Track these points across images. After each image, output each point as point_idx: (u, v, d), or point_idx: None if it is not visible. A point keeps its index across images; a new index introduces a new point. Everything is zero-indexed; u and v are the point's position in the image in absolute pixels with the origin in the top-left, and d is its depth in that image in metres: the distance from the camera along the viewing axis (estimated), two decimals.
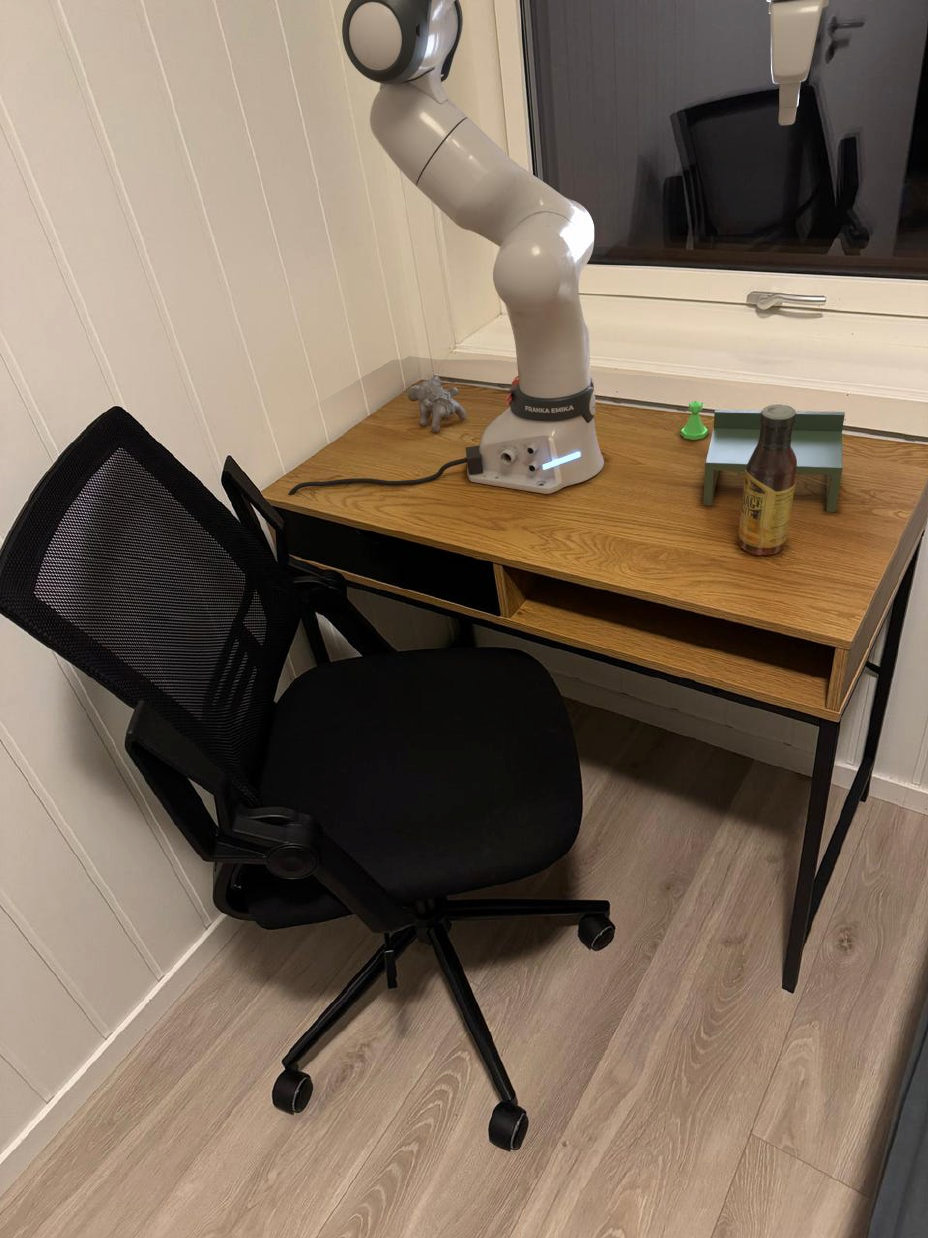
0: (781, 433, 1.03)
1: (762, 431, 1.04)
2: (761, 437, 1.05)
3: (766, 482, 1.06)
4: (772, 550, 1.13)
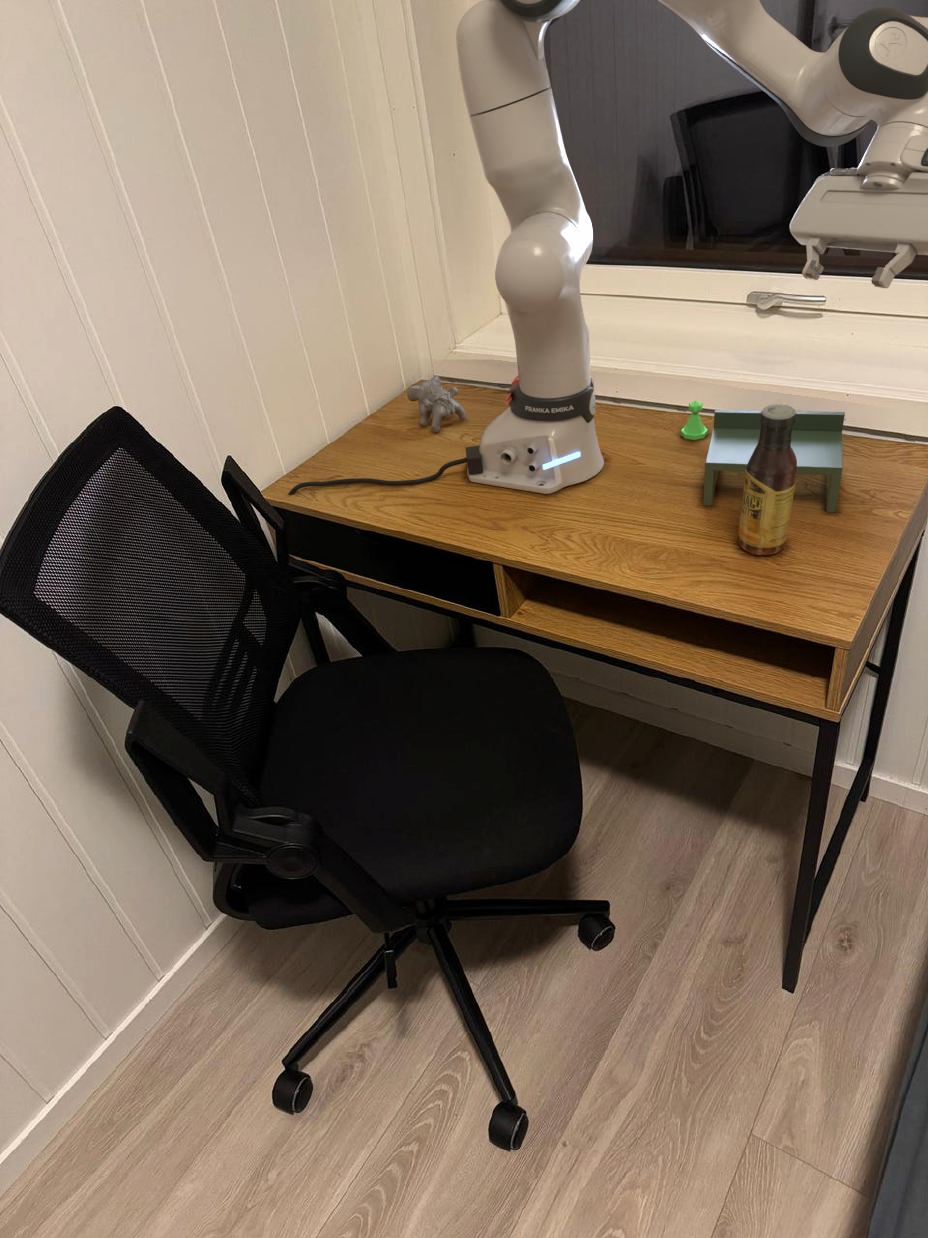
0: (781, 434, 1.03)
1: (762, 431, 1.04)
2: (761, 437, 1.05)
3: (766, 482, 1.06)
4: (772, 550, 1.13)
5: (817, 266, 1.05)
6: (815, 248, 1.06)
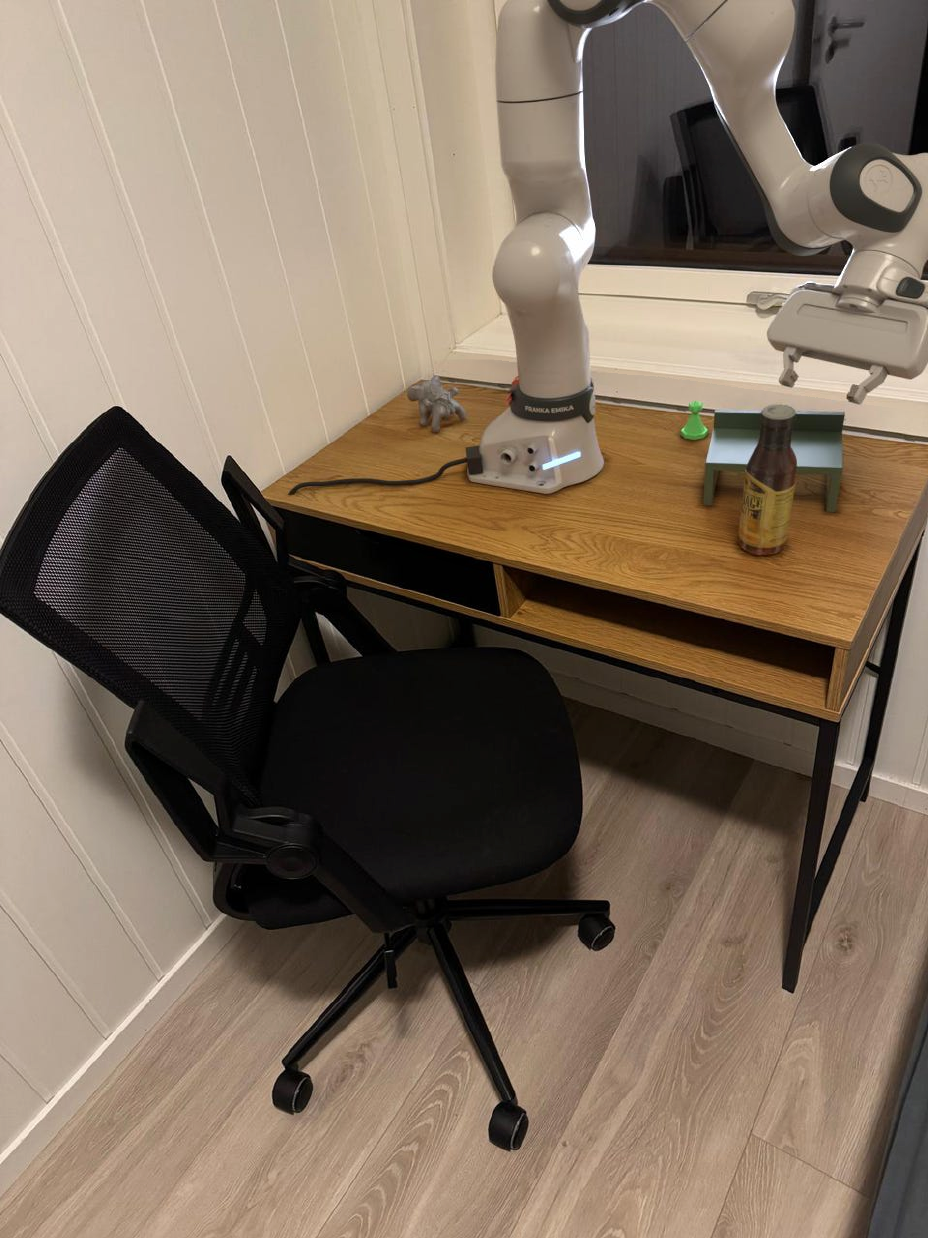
0: (781, 434, 1.03)
1: (762, 431, 1.04)
2: (761, 437, 1.05)
3: (766, 482, 1.06)
4: (772, 550, 1.13)
5: (793, 375, 1.10)
6: (791, 357, 1.11)
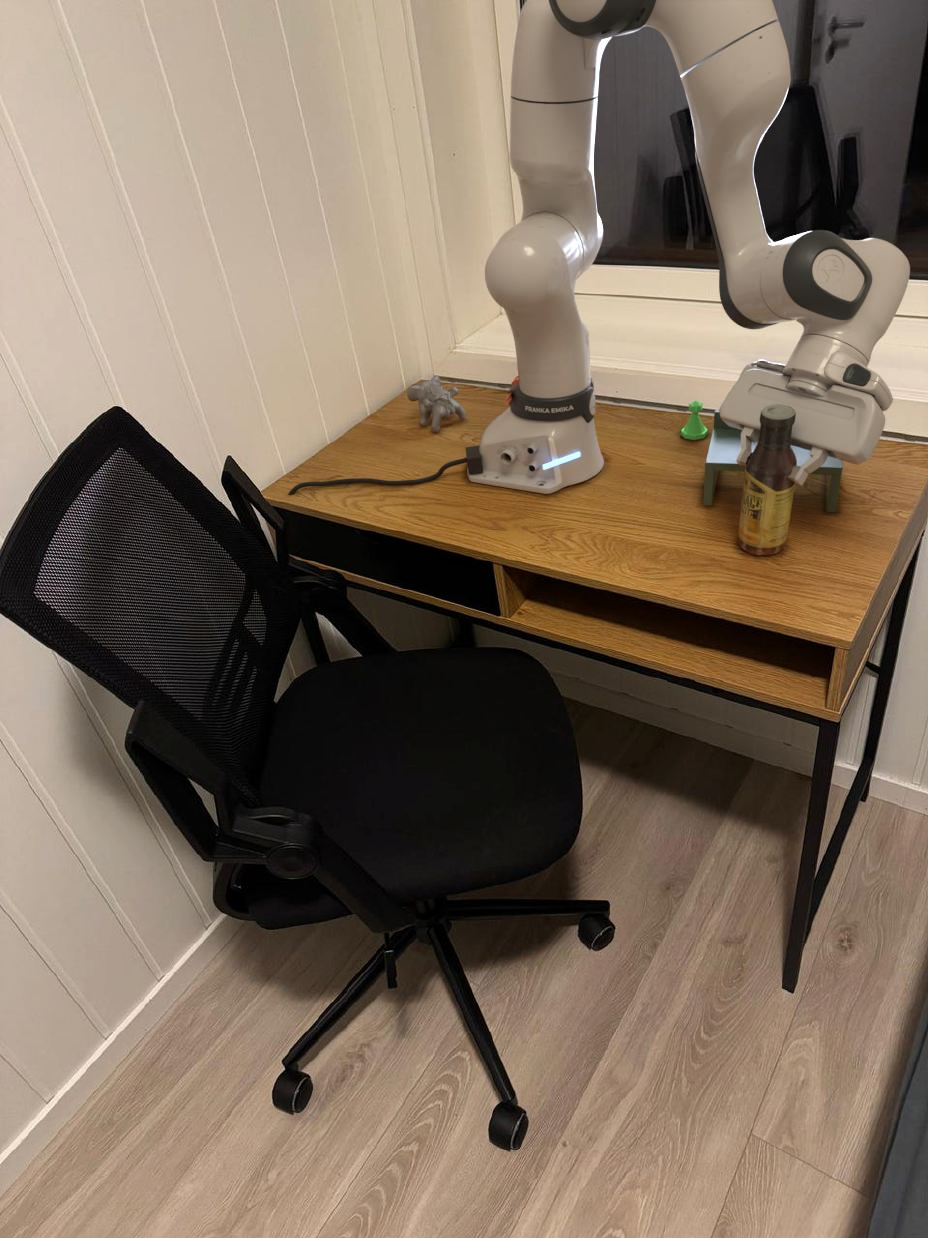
0: (781, 434, 1.03)
1: (762, 431, 1.04)
2: (761, 437, 1.05)
3: (766, 482, 1.06)
4: (772, 550, 1.13)
5: (750, 456, 1.10)
6: (749, 438, 1.11)
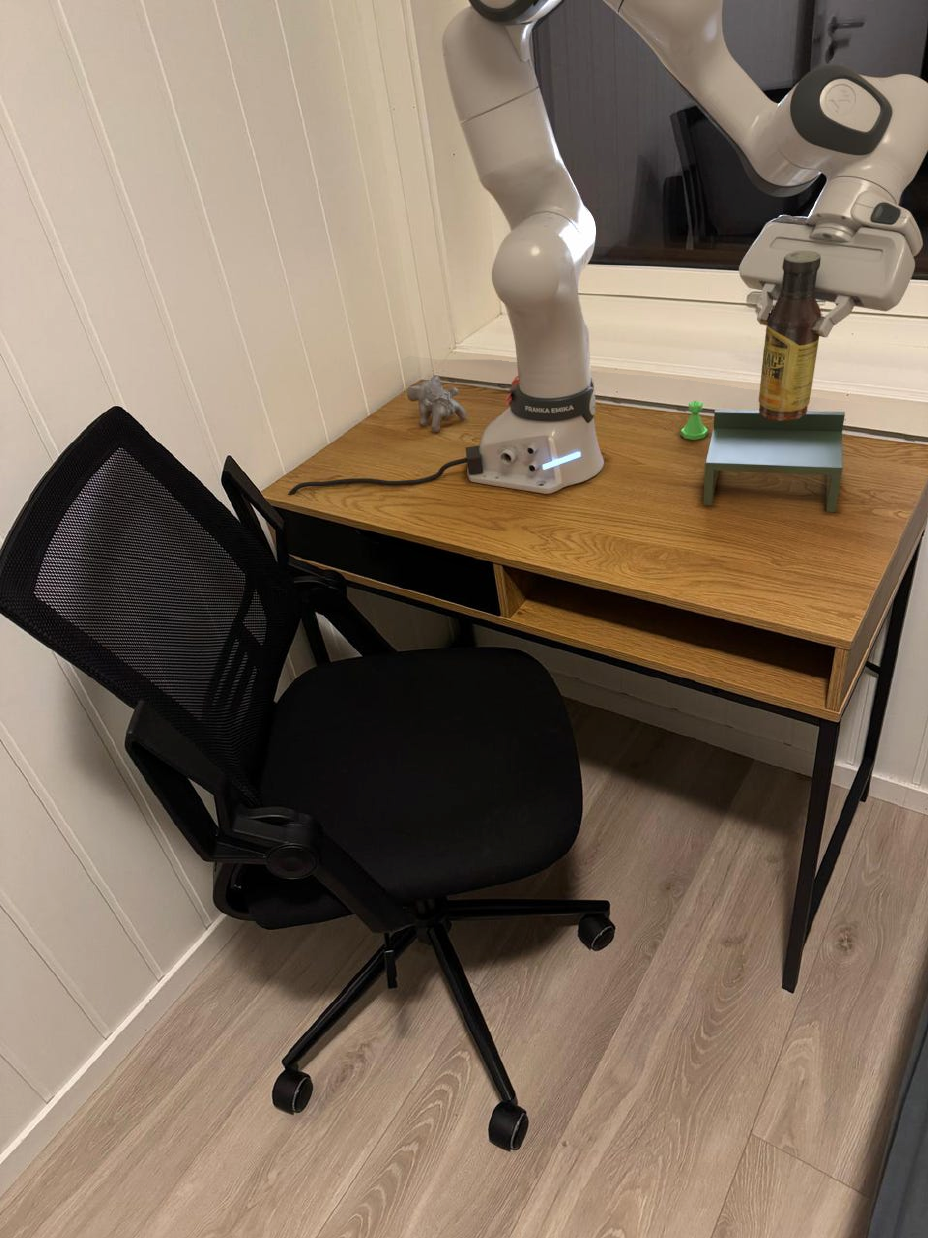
0: (805, 279, 0.98)
1: (785, 278, 1.00)
2: (784, 286, 1.00)
3: (788, 335, 1.02)
4: (794, 415, 1.08)
5: None
6: (770, 294, 1.06)
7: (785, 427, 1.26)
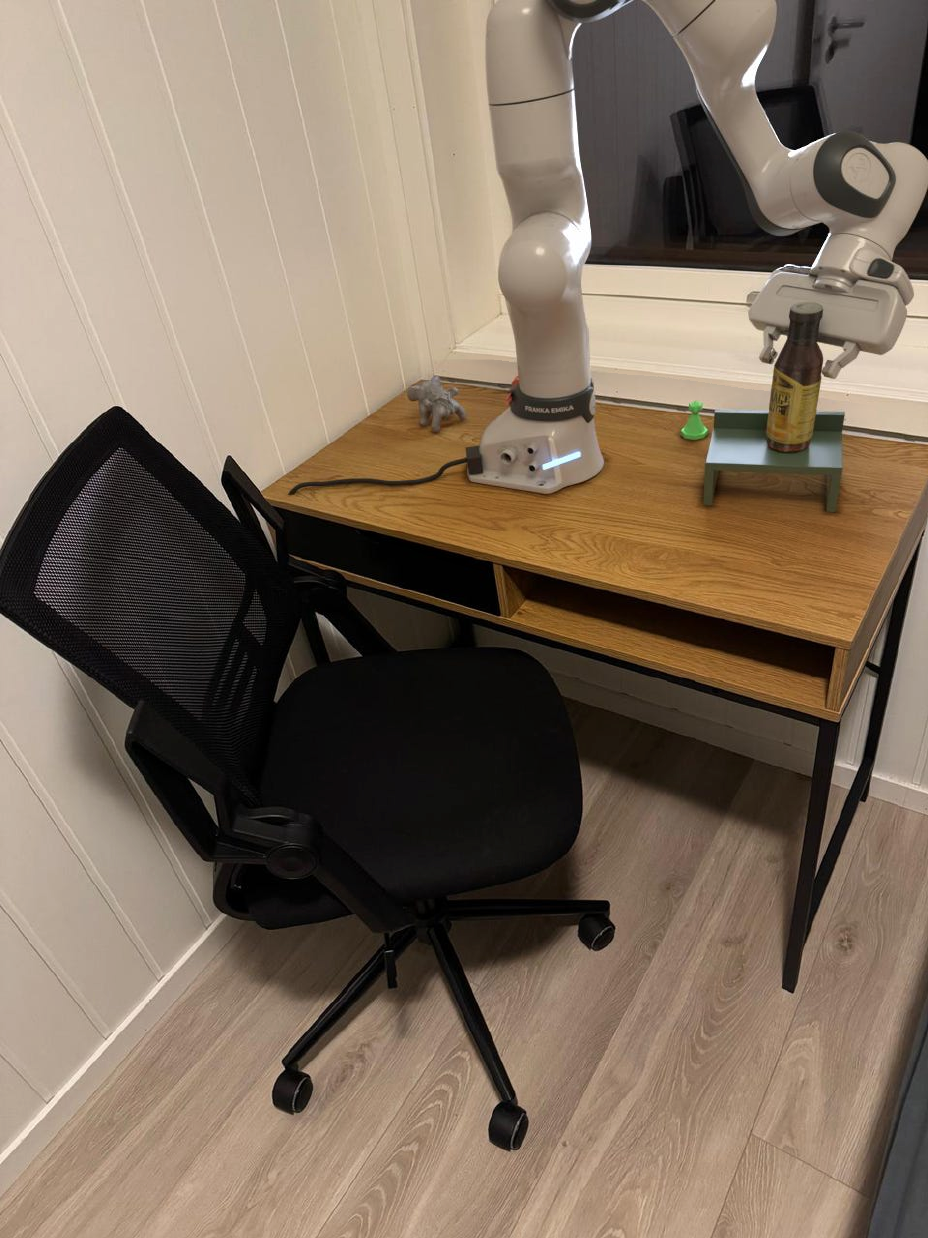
0: (809, 328, 1.10)
1: (791, 327, 1.11)
2: (790, 333, 1.12)
3: (794, 377, 1.13)
4: (798, 447, 1.19)
5: (773, 352, 1.17)
6: (771, 336, 1.18)
7: None
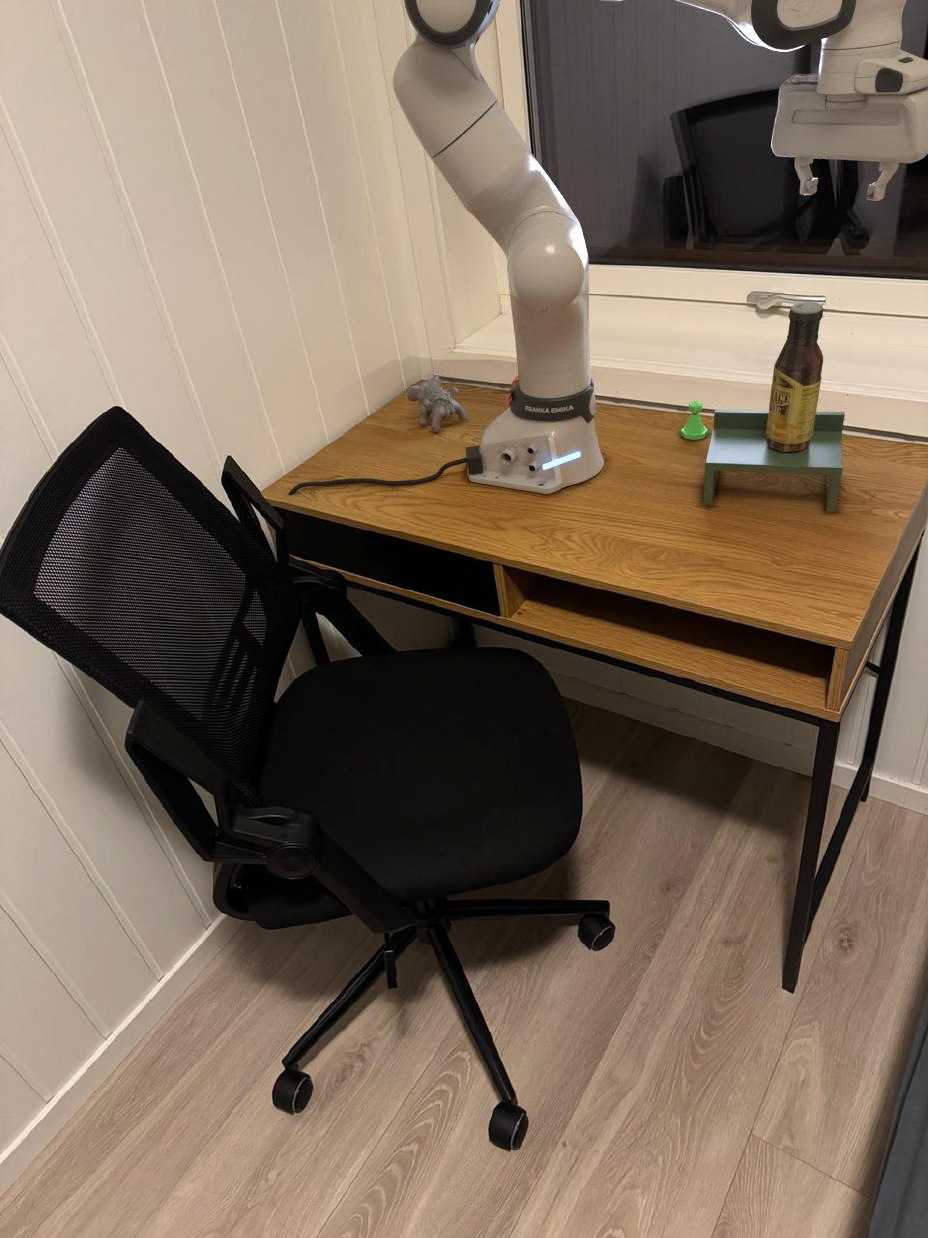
0: (809, 328, 1.10)
1: (791, 327, 1.11)
2: (790, 333, 1.12)
3: (794, 377, 1.13)
4: (798, 447, 1.19)
5: (812, 184, 1.13)
6: None
7: None
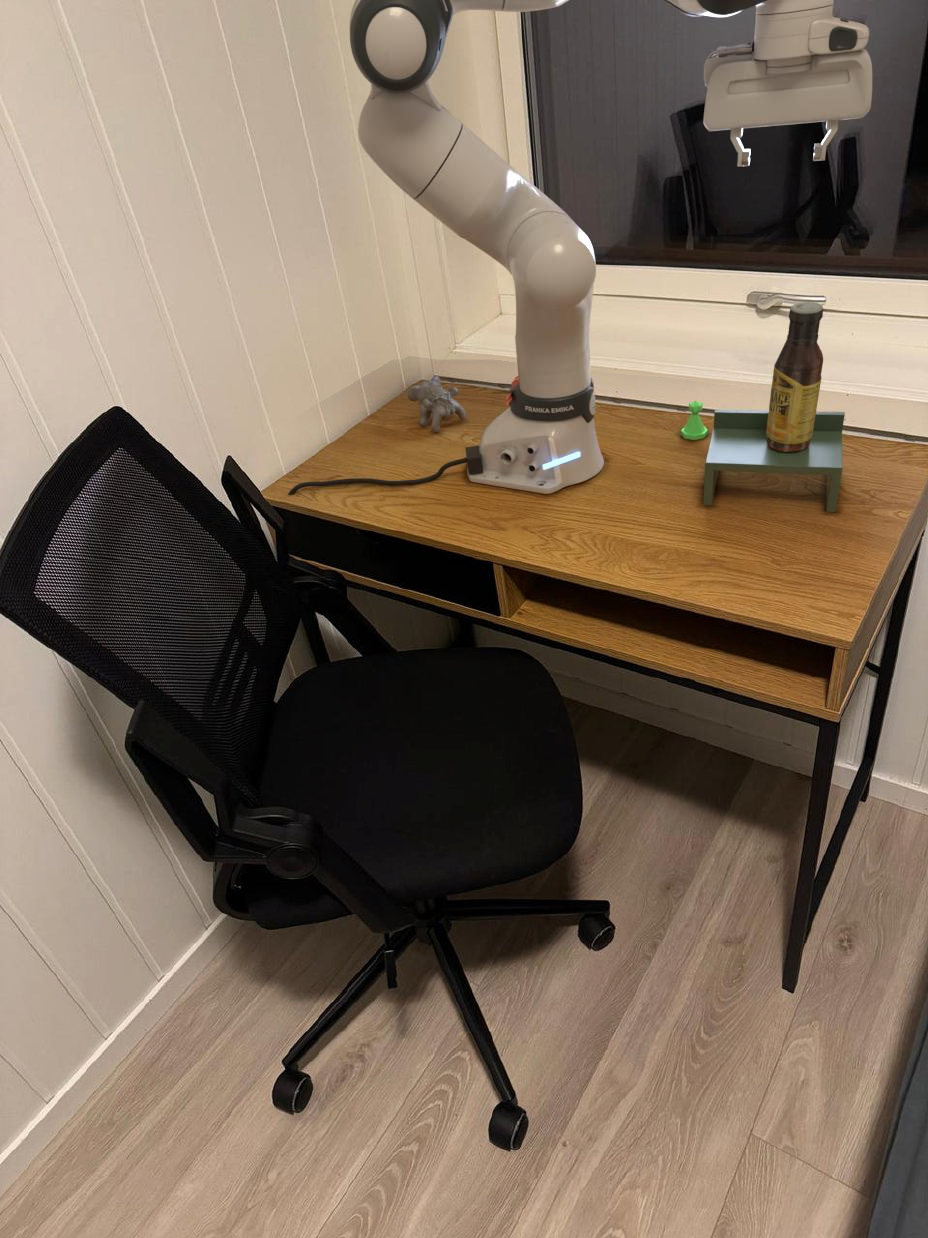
0: (809, 328, 1.10)
1: (791, 327, 1.11)
2: (790, 333, 1.12)
3: (794, 377, 1.13)
4: (798, 447, 1.19)
5: (749, 154, 1.13)
6: None
7: None
